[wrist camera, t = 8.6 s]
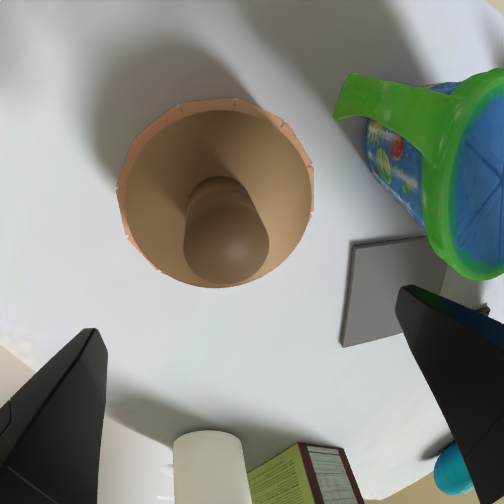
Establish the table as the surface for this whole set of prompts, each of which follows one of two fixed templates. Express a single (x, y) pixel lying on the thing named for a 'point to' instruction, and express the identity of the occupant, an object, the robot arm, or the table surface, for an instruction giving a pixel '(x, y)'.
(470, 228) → the snack cup
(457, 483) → the decorative orb
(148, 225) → the lid
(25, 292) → the table surface
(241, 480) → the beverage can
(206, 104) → the bowl
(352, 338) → the mat
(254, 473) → the protein box
